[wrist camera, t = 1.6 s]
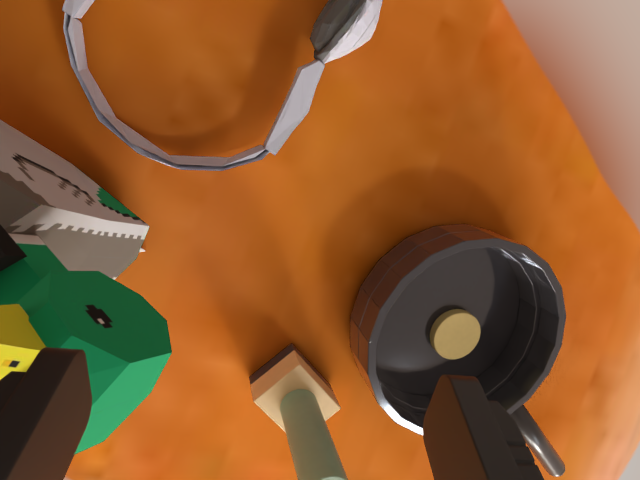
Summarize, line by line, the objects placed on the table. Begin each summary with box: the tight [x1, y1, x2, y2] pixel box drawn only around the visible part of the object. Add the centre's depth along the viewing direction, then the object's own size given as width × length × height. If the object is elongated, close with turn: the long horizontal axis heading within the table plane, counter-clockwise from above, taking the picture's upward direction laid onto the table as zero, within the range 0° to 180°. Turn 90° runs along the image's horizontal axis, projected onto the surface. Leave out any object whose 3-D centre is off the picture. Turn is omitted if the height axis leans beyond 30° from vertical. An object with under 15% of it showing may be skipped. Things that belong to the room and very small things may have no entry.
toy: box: [0, 120, 172, 454], centre depth 22 cm, size 6×17×20 cm
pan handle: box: [510, 405, 565, 477], centre depth 38 cm, size 11×2×2 cm, turn 36°
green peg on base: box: [249, 343, 348, 480], centre depth 30 cm, size 5×4×11 cm
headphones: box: [62, 0, 383, 171], centre depth 25 cm, size 17×6×20 cm
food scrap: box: [430, 309, 481, 359], centre depth 36 cm, size 4×4×1 cm
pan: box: [350, 224, 566, 435], centre depth 34 cm, size 15×15×4 cm
